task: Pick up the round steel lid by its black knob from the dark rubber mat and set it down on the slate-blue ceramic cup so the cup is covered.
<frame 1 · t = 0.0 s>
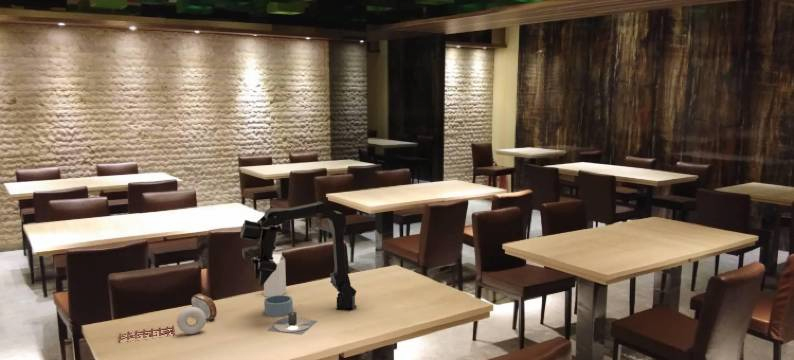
hand: (258, 282, 232), 15 cm above the table, tool pointing down, fingers open, 9 cm apart
mat: (292, 326, 228), on the table
milk carton: (275, 294, 265), on the table
tin: (203, 317, 239), on the table
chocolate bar: (146, 337, 221), on the table
cup: (278, 312, 243), on the table
donut: (192, 334, 222), on the table
lid: (292, 325, 228), resting on mat
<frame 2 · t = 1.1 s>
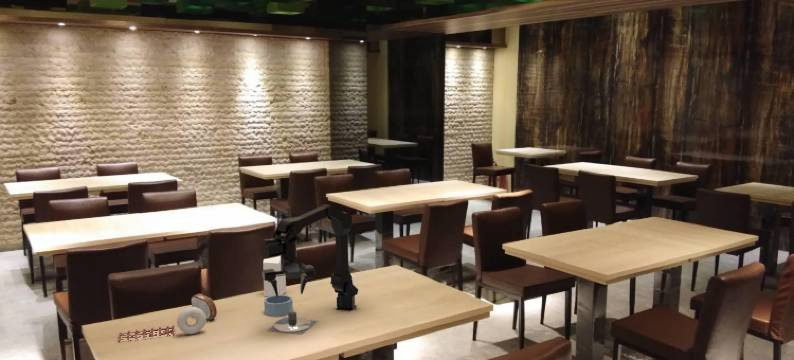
hand: (289, 295, 227), 12 cm above the table, tool pointing down, fingers open, 9 cm apart
nothing on the table moved.
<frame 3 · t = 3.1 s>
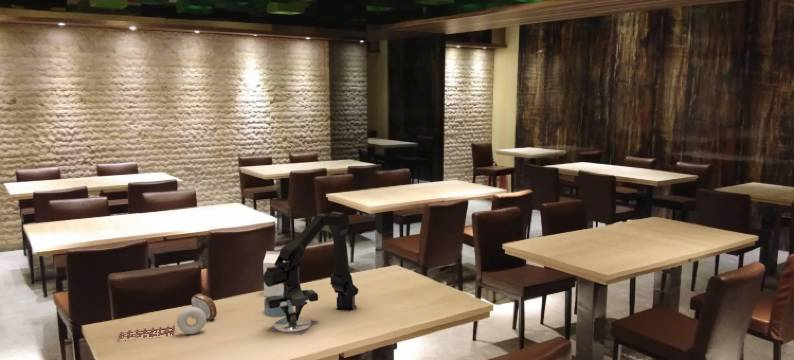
hand: (292, 321, 228), 2 cm above the table, tool pointing down, fingers closed on lid, 3 cm apart
lid: (292, 325, 228), resting on mat, touching gripper
everything else where it was.
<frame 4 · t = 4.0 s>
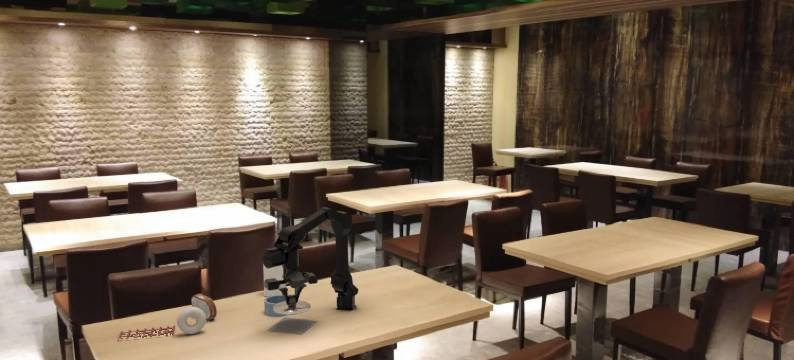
hand: (291, 303, 227), 9 cm above the table, tool pointing down, fingers closed on lid, 3 cm apart
lid: (291, 308, 227), point 7 cm above the table, touching gripper
everything else where it was.
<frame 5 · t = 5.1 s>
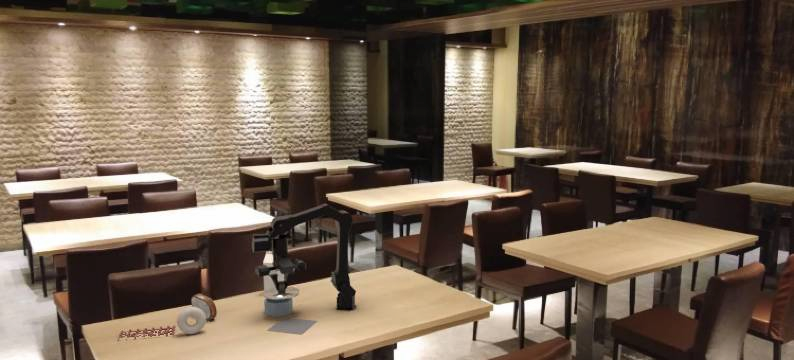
hand: (281, 289, 237), 11 cm above the table, tool pointing down, fingers closed on lid, 3 cm apart
lid: (281, 293, 237), point 9 cm above the table, touching gripper
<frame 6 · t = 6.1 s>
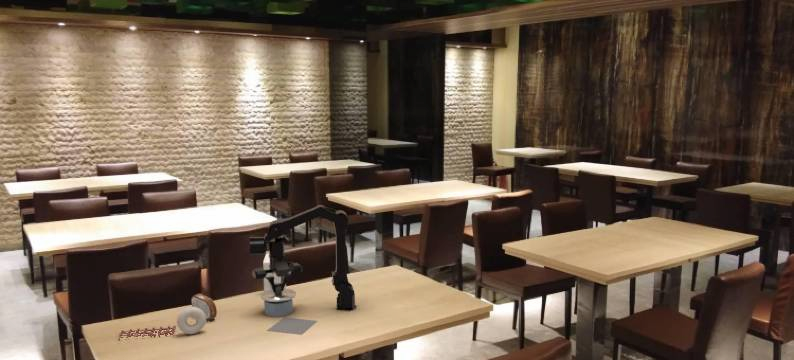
hand: (278, 291, 242), 9 cm above the table, tool pointing down, fingers closed on lid, 3 cm apart
lid: (278, 296, 242), point 7 cm above the table, touching gripper
when the fingers open (9 cm above the table, at t = 6.2 s): lid drops 1 cm, resting on cup.
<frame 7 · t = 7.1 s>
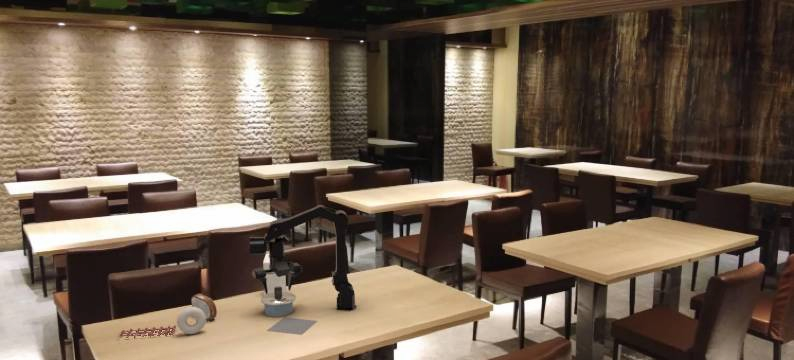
hand: (278, 291, 242), 9 cm above the table, tool pointing down, fingers open, 9 cm apart
lid: (278, 299, 242), point 5 cm above the table, touching cup
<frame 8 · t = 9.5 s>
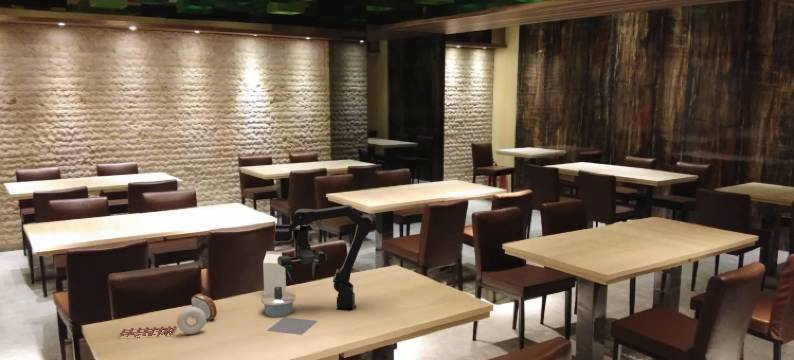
hand: (302, 279, 245), 13 cm above the table, tool pointing down, fingers open, 9 cm apart
at the end: lid 0.0 cm off-centre on the cup, point 5.5 cm above the cup's base; lid tilted 0°; the gripper is holding nothing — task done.
